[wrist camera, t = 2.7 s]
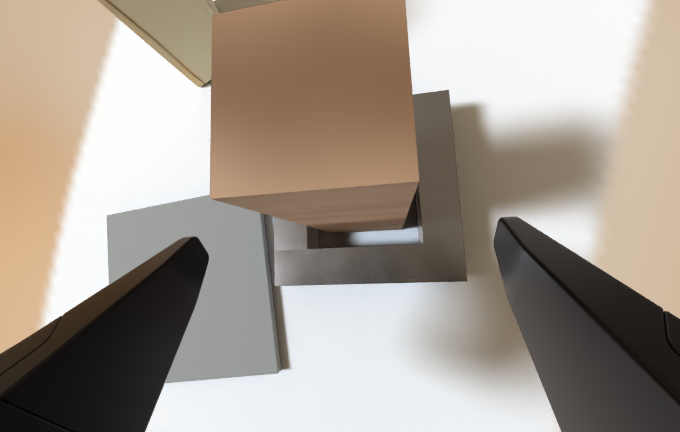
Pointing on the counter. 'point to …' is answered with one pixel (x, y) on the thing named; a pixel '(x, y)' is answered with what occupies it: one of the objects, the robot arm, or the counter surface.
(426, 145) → the collar
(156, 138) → the counter surface
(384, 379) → the counter surface
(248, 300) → the mat
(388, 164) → the walnut peg
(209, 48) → the skincare box
